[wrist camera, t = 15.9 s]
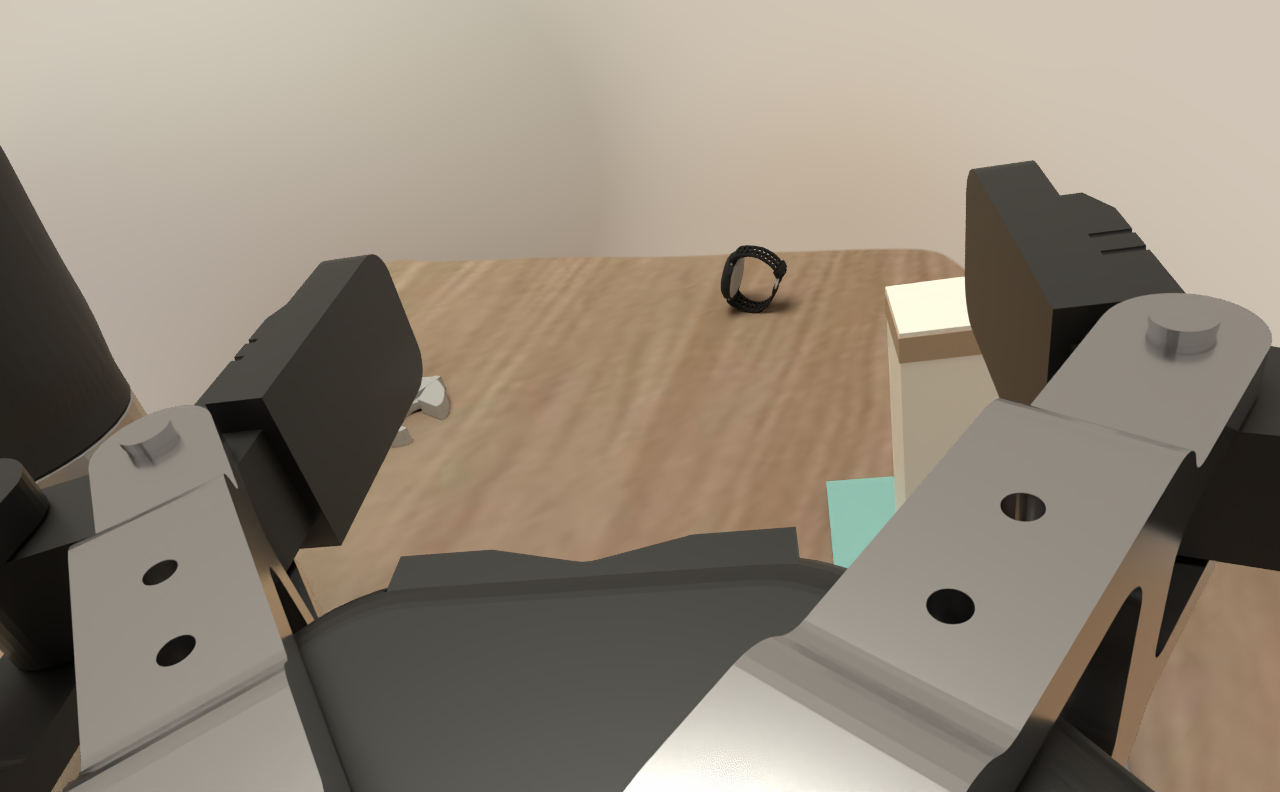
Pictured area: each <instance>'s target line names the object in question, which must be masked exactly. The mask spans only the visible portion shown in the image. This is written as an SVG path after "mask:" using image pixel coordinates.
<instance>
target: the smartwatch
mask: <svg viewBox="0 0 1280 792" xmlns="http://www.w3.org/2000/svg"><path fill="white" fill-rule="evenodd" d="M750 249H751V250H750ZM754 249H756V250H754ZM758 250H761V251H758ZM763 251H764V252H765V253H763ZM752 253H753V254H752ZM767 253H768V254H769V255H767ZM756 254H758V255H756ZM761 255H762V257H761ZM771 256H772V257H773V258H772V257H771ZM744 257H754V258H758V259H760V260H762V261H763V262H765V263H766V264H768V265H769V266H770V267H771V268H772V269H773V270H774V272H773V273H774V275H775V277H776V283H775V285H774V287H773V291H772V296H771V297H770V298H768V299H767V300H765V301H762V302H756V301H752V300H749V299H747V298H746V297H745V296H744V295H742V294H741V292H740V291H739V288H740V284H741V280H742V276H743V271H744ZM765 257H766V258H767V259H765ZM774 259H776V261H775V260H774ZM768 260H770V262H769V261H768ZM772 262H773V263H774V264H772ZM777 262H779V263H777ZM775 266H776V268H775ZM786 267H787V265H786V263H785V261H784V260H783V261H781V260H780V258H779V257H778V256H777V255H775V254H774V253H773V252H771V251H769V250H768V249H765V248H763V247H758V246H749V245H746V246H740V247H739V248H738V249H737V250H736V251H735V252H734V253H732V254H730V256H729V257H728V259H727V261H726V264H725V266H724V270H723V274H722V279H721V292H722V294H723V296H724V298H726V299H727V303H728V304H730V305H731V306H733V307H735V308H737V309H740V310H743V311H746V312H750V313H758V312H761V311H763V310H764V309H765V308H766V307H767V306H768V305H769V304H770V302H771V301H772V299H773V298H774V296H775V294H776V292H777V290H778V287H779V283H780V282H781V280H782V277H783V276H784V275H785V273H786V271H787V270H786ZM740 299H741V300H740ZM744 301H746V303H745V302H744ZM738 303H739V304H738ZM749 303H751V305H749ZM753 304H755V305H753ZM759 304H760V305H759ZM762 304H763V305H762ZM742 305H743V306H744V307H742ZM758 305H759V306H758ZM747 307H749V308H748V309H746V308H747ZM752 308H753V309H752ZM751 309H752V310H751Z"/></svg>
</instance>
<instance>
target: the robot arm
mask: <svg viewBox="0 0 1280 792" xmlns="http://www.w3.org/2000/svg"><path fill="white" fill-rule="evenodd" d="M965 296H966V305H967V312H968V317H969V322H970V325H971V328H972V331H973V334H974V336H975V339H976V341H977V343H978V346H979V348H980V351H981V353H982V356H983V358H984V361H985V363H986V366H987V368H988V371H989V373H990V376H991V378H992V381H993V383H994V386H995V388H996V391H997V393H998V396H999V398H998V399H995V400H994V401H992V402H991V403H990V404H989V405H988V406H987V407H986V408H985V409H984V410H983V411H982V412H981V413H980V414H979V416H978V417H977V418H976V419H975V420H974V421H973V423H972V424H971V425H970V426H969V427H968V428H967V430H966V431H965V432H964V433H963V434H962V435H961V437H960V438H959V439H958V440H957V441H956V443H955V444H954V445H953V446H952V447H951V448H950V450H949V451H948V452H947V453H946V454H945V455H944V457H943V458H942V459H941V460H940V461H939V462H938V464H937V465H936V466H935V467H934V468H933V469H932V471H931V472H930V473H929V474H928V475H927V476H926V478H925V479H924V480H923V481H922V482H921V483H920V485H919V486H918V487H917V488H916V489H915V491H914V492H913V493H912V494H911V495H910V496H909V498H908V499H907V500H906V501H905V502H904V503H903V505H902V506H901V507H900V508H899V509H898V510H897V512H896V513H895V514H894V515H893V516H892V517H891V519H890V520H889V521H888V522H887V523H886V524H885V526H884V527H883V528H882V529H881V530H880V531H879V533H878V534H877V535H876V536H875V537H874V539H873V540H872V541H871V542H870V543H869V544H868V546H867V547H866V548H865V549H864V550H863V551H862V553H861V554H860V555H859V556H858V557H857V558H856V560H855V561H854V562H853V563H852V564H851V565H850V567H849V568H845V567H842V566H838V565H834V564H830V563H825V562H821V561H817V560H810V559H804V558H800V557H799V549H798V541H797V534H796V527H788V528H775V529H761V530H748V531H735V532H721V533H708V534H695V535H689V536H686V537H682V538H678V539H674V540H670V541H667V542H663V543H659V544H655V545H652V546H648V547H644V548H640V549H636V550H633V551H629V552H625V553H621V554H618V555H614V556H610V557H606V558H602V559H599V560H594V561H588V562H577V561H569V560H562V559H555V558H548V557H540V556H533V555H526V554H519V553H511V552H504V551H497V550H482V551H469V552H456V553H443V554H429V555H416V556H403V557H401V558H400V560H399V562H398V565H397V567H396V570H395V572H394V574H393V577H392V579H391V582H390V584H389V586H388V588H385V589H382V590H379V591H376V592H373V593H370V594H368V595H365V596H362V597H360V598H357V599H355V600H353V601H350V602H348V603H346V604H344V605H342V606H340V607H337V608H335V609H333V610H332V611H330V612H328V613H326V614H324V615H323V616H322V614H321V612H320V610H319V607H318V605H317V602H316V600H315V598H314V595H313V593H312V591H311V588H310V586H309V584H308V581H307V579H306V577H305V575H304V573H303V571H302V570H301V568H300V566H299V565H298V563H297V561H296V559H295V556H296V554H297V552H298V551H299V549H303V548H315V547H328V546H341V545H342V543H343V541H344V539H345V537H346V535H347V533H348V531H349V529H350V527H351V525H352V523H353V521H354V519H355V517H356V515H357V513H358V511H359V509H360V507H361V505H362V503H363V501H364V499H365V497H366V495H367V493H368V491H369V489H370V487H371V485H372V483H373V481H374V479H375V477H376V475H377V473H378V471H379V469H380V467H381V465H382V463H383V461H384V459H385V457H386V455H387V453H388V451H389V449H390V447H391V445H392V443H393V441H394V439H395V437H396V435H397V433H398V431H399V429H400V427H401V425H402V423H403V421H404V419H405V417H406V415H407V413H408V411H409V409H410V407H411V405H412V403H413V401H414V399H415V397H416V395H417V393H418V391H419V389H420V386H421V382H422V373H423V370H422V359H421V354H420V350H419V347H418V344H417V341H416V339H415V336H414V334H413V331H412V329H411V326H410V324H409V321H408V319H407V316H406V314H405V311H404V308H403V306H402V303H401V301H400V298H399V296H398V293H397V291H396V288H395V286H394V283H393V281H392V278H391V276H390V273H389V271H388V269H387V267H386V265H385V264H384V262H383V261H382V260H381V259H380V258H379V257H378V256H376V255H373V254H372V255H363V256H357V257H350V258H343V259H335V260H329V261H324V262H322V263H320V264H319V265H318V267H317V268H316V269H315V270H314V272H313V273H312V274H311V275H310V277H309V278H308V279H307V280H306V281H305V283H304V284H303V285H302V286H301V287H300V289H299V290H298V291H297V292H296V293H295V295H294V296H293V297H292V298H291V300H290V301H289V302H288V303H287V304H286V305H285V306H284V307H282V308H281V309H280V310H278V311H277V312H275V313H274V314H272V315H271V316H269V317H268V318H267V319H266V320H265V321H264V322H263V323H262V325H261V326H260V327H259V328H258V329H257V330H256V332H255V333H254V334H253V335H252V336H251V338H250V339H249V344H245V345H244V346H243V347H242V348H241V350H240V351H239V352H238V353H237V354H236V356H235V357H234V358H235V361H231V362H230V363H229V364H228V365H227V366H226V368H225V369H224V370H223V371H222V372H221V374H220V375H219V376H218V377H217V378H216V380H215V381H214V382H213V383H212V384H211V386H210V387H209V388H208V389H207V390H206V392H205V393H204V394H203V395H202V397H201V398H200V399H199V400H198V401H197V402H196V404H195V405H183V406H176V407H171V408H167V409H163V410H160V411H157V412H154V413H152V414H149V415H147V414H146V412H145V411H144V409H143V407H142V406H141V404H140V403H139V401H138V399H137V398H136V396H135V395H134V393H133V391H132V390H131V389H130V386H129V384H128V383H127V381H126V379H125V378H124V376H123V374H122V373H121V371H120V369H119V368H118V366H117V364H116V363H115V361H114V359H113V357H112V355H111V353H110V351H109V348H108V346H107V344H106V342H105V339H104V337H103V335H102V333H101V331H100V328H99V326H98V324H97V321H96V319H95V317H94V315H93V314H92V311H91V310H90V308H89V306H88V304H87V302H86V300H85V298H84V296H83V295H82V293H81V291H80V289H79V288H78V286H77V284H76V283H75V281H74V279H73V278H72V276H71V274H70V272H69V271H68V269H67V267H66V266H65V264H64V262H63V260H62V259H61V257H60V255H59V253H58V252H57V250H56V248H55V246H54V244H53V242H52V241H51V239H50V237H49V235H48V233H47V232H46V230H45V228H44V226H43V224H42V222H41V220H40V219H39V217H38V215H37V213H36V211H35V209H34V207H33V206H32V204H31V202H30V200H29V198H28V196H27V194H26V192H25V190H24V188H23V186H22V184H21V183H20V181H19V179H18V177H17V175H16V173H15V171H14V169H13V167H12V166H11V164H10V162H9V160H8V158H7V156H6V154H5V153H4V151H3V149H2V148H1V146H0V650H1V651H2V652H3V653H4V655H3V656H2V658H1V659H0V792H51V791H52V789H53V787H54V786H55V784H56V782H57V781H58V779H59V777H60V776H61V774H62V772H63V771H64V769H65V768H66V766H67V764H68V763H69V761H70V759H71V758H72V756H73V754H74V753H75V751H76V749H77V748H78V746H79V744H80V753H81V770H80V774H79V776H78V778H77V779H75V780H73V781H71V782H70V783H68V784H67V785H66V787H65V788H64V790H63V792H1155V791H1153V790H1152V789H1151V788H1150V787H1148V786H1147V785H1146V784H1144V783H1143V782H1142V781H1141V780H1139V779H1138V778H1137V777H1136V776H1134V775H1133V774H1132V773H1131V772H1129V771H1128V770H1127V769H1126V768H1124V766H1125V764H1126V761H1127V759H1128V757H1129V754H1130V752H1131V749H1132V747H1133V744H1134V741H1135V739H1136V736H1137V733H1138V730H1139V727H1140V724H1141V721H1142V718H1143V715H1144V712H1145V709H1146V706H1147V704H1148V701H1149V699H1150V696H1151V694H1152V692H1153V689H1154V687H1155V685H1156V683H1157V681H1158V679H1159V677H1160V675H1161V673H1162V671H1163V669H1164V667H1165V665H1166V663H1167V661H1168V659H1169V657H1170V655H1171V653H1172V651H1173V649H1174V647H1175V645H1176V643H1177V641H1178V639H1179V638H1180V636H1181V634H1182V632H1183V630H1184V628H1185V626H1186V624H1187V622H1188V620H1189V618H1190V616H1191V614H1192V612H1193V610H1194V608H1195V606H1196V604H1197V602H1198V600H1199V598H1200V596H1201V594H1202V592H1203V590H1204V588H1205V586H1206V584H1207V582H1208V580H1209V578H1210V576H1211V574H1212V572H1213V570H1214V568H1215V566H1216V563H1217V561H1218V562H1225V563H1231V564H1237V565H1244V566H1250V567H1256V568H1263V569H1269V570H1275V571H1280V348H1278V347H1273V346H1271V343H1272V336H1271V332H1270V330H1269V327H1268V326H1267V325H1266V324H1265V322H1264V321H1263V320H1262V319H1261V318H1259V317H1258V316H1257V315H1255V314H1254V313H1252V312H1251V311H1249V310H1247V309H1245V308H1243V307H1241V306H1239V305H1236V304H1234V303H1231V302H1228V301H1225V300H1222V299H1218V298H1213V297H1209V296H1202V295H1196V294H1186V293H1185V292H1184V291H1183V290H1182V288H1181V287H1180V286H1179V285H1178V283H1177V282H1176V281H1175V280H1174V279H1173V277H1172V276H1171V275H1170V274H1169V273H1168V272H1167V270H1166V269H1165V268H1164V267H1163V266H1162V264H1161V263H1160V262H1159V260H1157V258H1156V257H1155V256H1154V254H1153V253H1152V252H1151V251H1150V250H1146V245H1145V244H1144V242H1143V241H1142V240H1141V239H1140V237H1139V236H1138V235H1137V234H1136V233H1132V228H1131V227H1130V225H1129V224H1128V223H1127V222H1126V221H1125V219H1124V218H1123V217H1122V216H1121V214H1120V213H1119V212H1118V211H1117V210H1116V208H1114V207H1112V206H1110V205H1108V204H1106V203H1103V202H1101V201H1099V200H1097V199H1095V198H1093V197H1090V196H1088V195H1086V194H1084V193H1076V194H1069V195H1062V196H1060V195H1059V194H1058V192H1057V191H1056V190H1055V188H1054V187H1053V185H1052V184H1051V183H1050V181H1049V180H1048V178H1047V177H1046V176H1045V174H1044V173H1043V171H1042V170H1041V169H1040V167H1039V166H1038V165H1037V163H1036V162H1035V161H1033V160H1032V161H1025V162H1019V163H1012V164H1005V165H998V166H991V167H984V168H977V169H971V170H970V172H969V175H968V179H967V188H966V241H965Z"/></svg>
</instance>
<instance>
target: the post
mask: <svg viewBox="0 0 1280 792" xmlns="http://www.w3.org/2000/svg"><path fill="white" fill-rule="evenodd" d="M885 288H886V290H884V294H885V314H886V318H887V332H888V354H889V376H890V398H891V421H892V443H893V465H894V487H895V509H896V512H897V510H898V509H899V508H900V507H901V506H902V505H903V503H904V502H905V501H906V500H907V499H908V498H909V496H910V495H911V494H912V493H913V492H914V491H915V489H916V488H917V487H918V486H919V485H920V483H921V482H922V481H923V480H924V479H925V478H926V476H927V475H928V474H929V473H930V472H931V471H932V469H933V468H934V467H935V466H936V465H937V464H938V462H939V461H940V460H941V459H942V458H943V457H944V455H945V454H946V453H947V452H948V451H949V450H950V448H951V447H952V446H953V445H954V444H955V443H956V441H957V440H958V439H959V438H960V437H961V435H962V434H963V433H964V432H965V431H966V430H967V428H968V427H969V426H970V425H971V424H972V423H973V421H974V420H975V419H976V418H977V417H978V416H979V414H980V413H981V412H982V411H983V410H984V409H985V408H986V407H987V406H988V405H989V404H990V403H991V402H992V401H994V400H995V399H998V398H999V396H998V393H997V391H996V388H995V386H994V383H993V381H992V378H991V376H990V373H989V371H988V368H987V366H986V363H985V361H984V358H983V356H982V353H981V351H980V348H979V346H978V343H977V341H976V339H975V336H974V334H973V331H972V328H971V325H970V322H969V317H968V312H967V305H966V296H965V277H958V278H950V279H942V280H935V281H927V282H919V283H911V284H903V285H896V286H888V287H885Z"/></svg>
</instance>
